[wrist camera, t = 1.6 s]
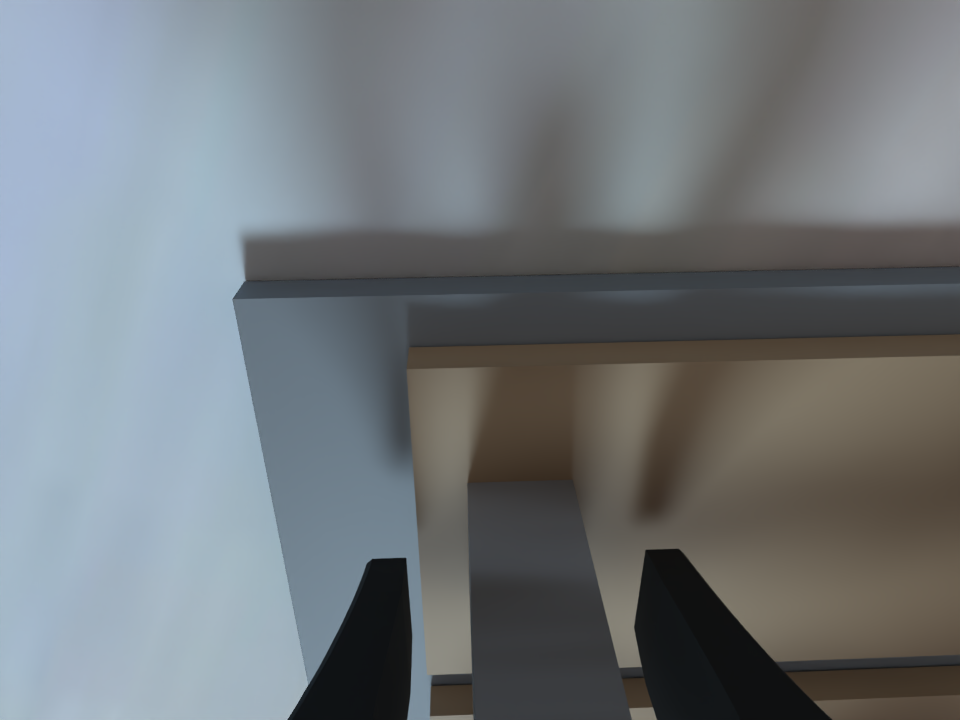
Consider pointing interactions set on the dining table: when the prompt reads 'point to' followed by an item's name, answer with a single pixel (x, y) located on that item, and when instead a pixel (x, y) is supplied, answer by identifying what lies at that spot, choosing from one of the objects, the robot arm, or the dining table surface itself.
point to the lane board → (483, 322)
